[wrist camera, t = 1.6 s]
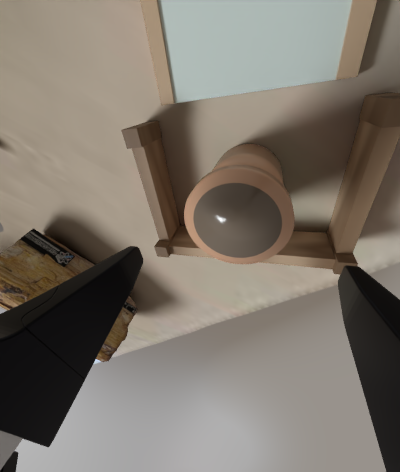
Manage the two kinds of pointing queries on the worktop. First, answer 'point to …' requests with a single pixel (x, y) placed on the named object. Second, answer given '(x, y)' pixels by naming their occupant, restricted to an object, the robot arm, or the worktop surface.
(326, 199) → the worktop surface
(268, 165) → the terracotta pot
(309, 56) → the lid pane
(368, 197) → the frame
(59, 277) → the petrified wood
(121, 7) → the worktop surface
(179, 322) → the worktop surface
